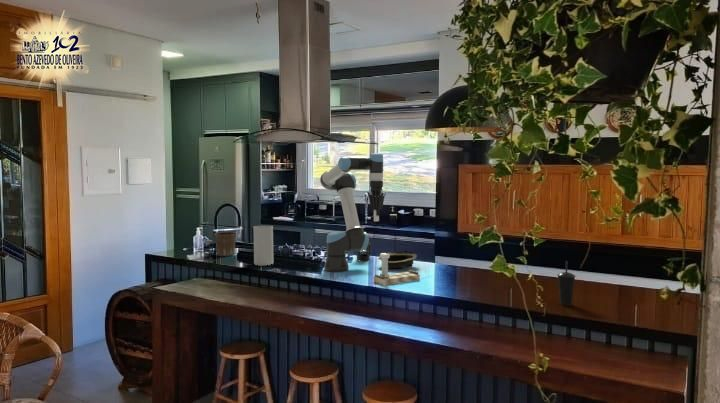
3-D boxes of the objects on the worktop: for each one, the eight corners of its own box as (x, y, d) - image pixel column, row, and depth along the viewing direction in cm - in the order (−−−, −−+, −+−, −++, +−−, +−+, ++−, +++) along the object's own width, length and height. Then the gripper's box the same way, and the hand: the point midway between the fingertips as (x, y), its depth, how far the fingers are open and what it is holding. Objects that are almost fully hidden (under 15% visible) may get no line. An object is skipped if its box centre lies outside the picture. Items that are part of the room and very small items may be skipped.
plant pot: (238, 256, 367) (237, 234, 366) (215, 257, 362) (214, 235, 361) (236, 252, 383) (236, 231, 382) (214, 254, 378) (213, 232, 377)
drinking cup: (553, 302, 234) (554, 259, 233) (569, 302, 235) (570, 259, 233) (561, 307, 226) (562, 262, 225) (578, 306, 227) (579, 262, 226)
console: (408, 276, 293) (408, 269, 292) (419, 280, 284) (419, 272, 284) (373, 281, 280) (373, 274, 280) (383, 285, 272) (383, 277, 271)
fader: (384, 275, 281) (384, 252, 280) (389, 277, 276) (389, 254, 276) (379, 276, 279) (379, 253, 278) (384, 277, 275) (384, 254, 274)
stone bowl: (417, 263, 333) (417, 249, 332) (416, 274, 309) (416, 259, 307) (380, 262, 336) (380, 248, 335) (376, 272, 312) (376, 258, 311)
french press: (363, 261, 342) (363, 227, 340) (352, 260, 348) (352, 226, 346) (374, 259, 351) (374, 226, 349) (364, 258, 357) (363, 225, 355)
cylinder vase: (251, 265, 330) (250, 227, 328) (257, 262, 342) (257, 225, 341) (270, 266, 328) (269, 227, 327) (275, 262, 341) (275, 225, 339)
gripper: (389, 180, 290) (388, 221, 292) (373, 179, 299) (373, 219, 301) (379, 180, 285) (379, 222, 287) (364, 180, 294) (363, 220, 296)
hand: (376, 221), depth 294 cm, fingers closed
